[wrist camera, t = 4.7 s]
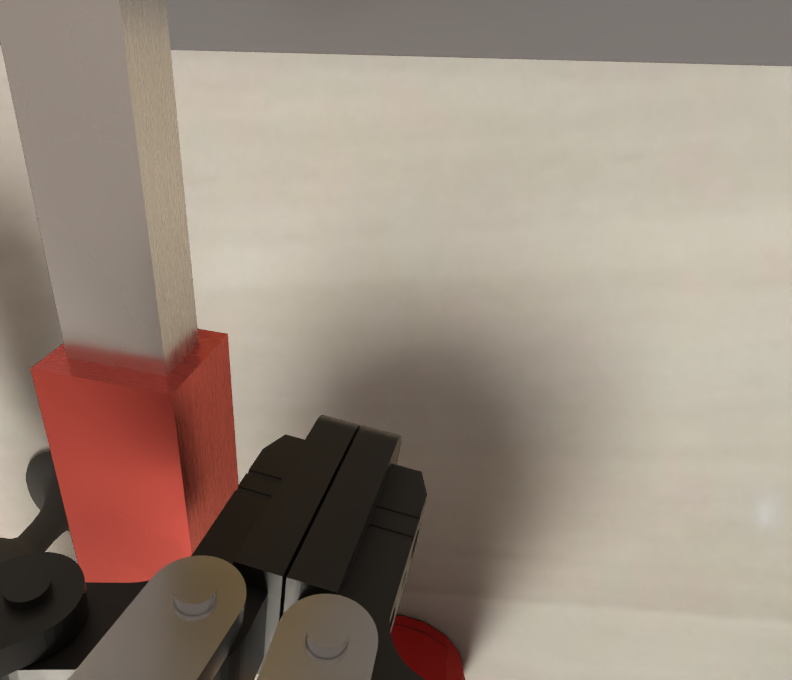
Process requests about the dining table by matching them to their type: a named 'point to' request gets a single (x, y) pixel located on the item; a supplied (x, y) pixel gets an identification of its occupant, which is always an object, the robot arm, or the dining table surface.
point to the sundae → (51, 514)
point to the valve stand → (494, 29)
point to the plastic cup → (426, 650)
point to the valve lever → (119, 286)
